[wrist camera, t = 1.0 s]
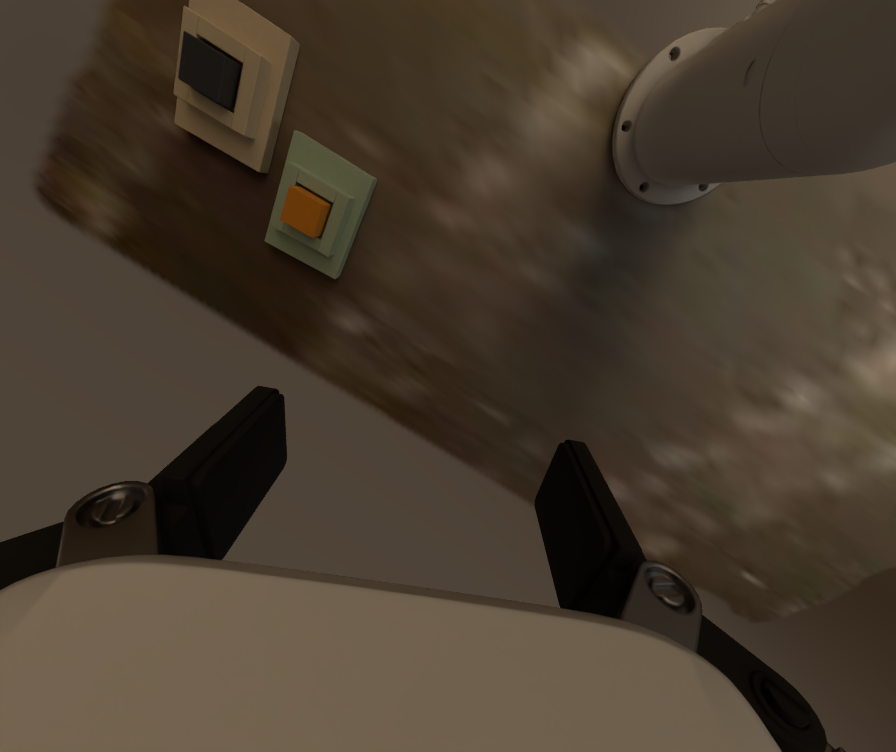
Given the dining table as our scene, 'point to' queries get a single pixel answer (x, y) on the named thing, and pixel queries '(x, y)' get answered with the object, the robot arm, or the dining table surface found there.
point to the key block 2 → (333, 185)
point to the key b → (305, 211)
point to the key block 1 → (260, 83)
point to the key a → (208, 71)
